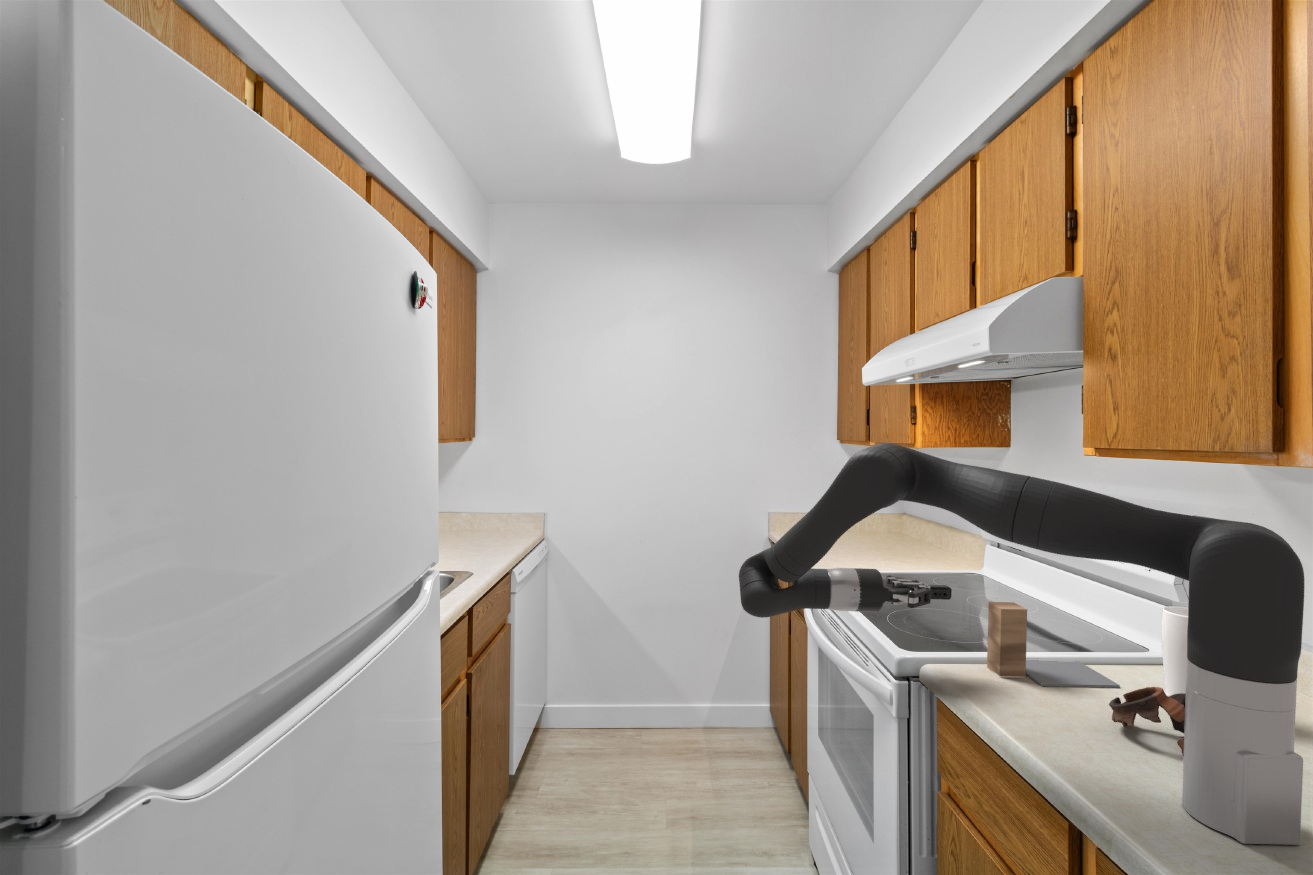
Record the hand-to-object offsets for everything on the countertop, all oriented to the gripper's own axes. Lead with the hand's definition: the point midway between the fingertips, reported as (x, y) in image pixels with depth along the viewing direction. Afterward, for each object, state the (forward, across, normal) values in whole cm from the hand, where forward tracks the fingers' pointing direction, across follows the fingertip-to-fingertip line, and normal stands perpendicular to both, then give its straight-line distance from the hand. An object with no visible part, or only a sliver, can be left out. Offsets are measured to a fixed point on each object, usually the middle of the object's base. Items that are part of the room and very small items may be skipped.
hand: (949, 592), depth 117 cm
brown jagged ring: (+20, -24, +14) cm, 34 cm away
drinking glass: (+32, -13, +14) cm, 37 cm away
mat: (+20, 0, +14) cm, 24 cm away
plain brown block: (+10, 0, +14) cm, 17 cm away
